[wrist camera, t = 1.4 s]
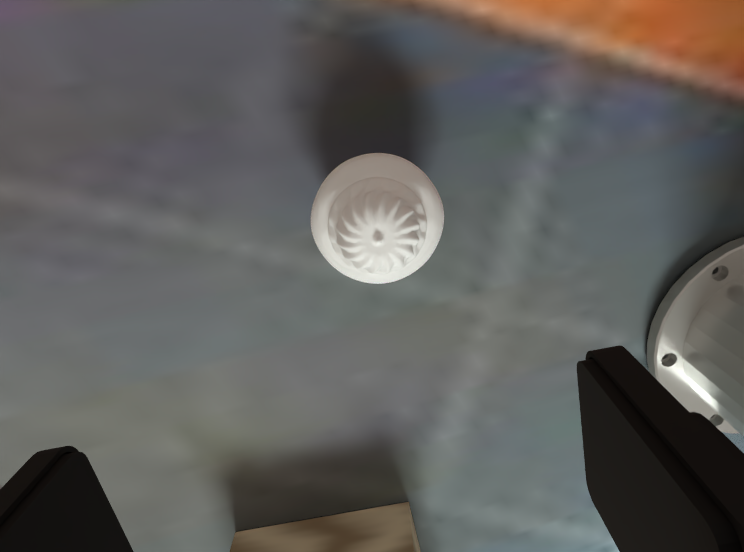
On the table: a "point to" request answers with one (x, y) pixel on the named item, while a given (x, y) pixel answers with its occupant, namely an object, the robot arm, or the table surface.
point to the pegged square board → (337, 533)
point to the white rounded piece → (377, 218)
